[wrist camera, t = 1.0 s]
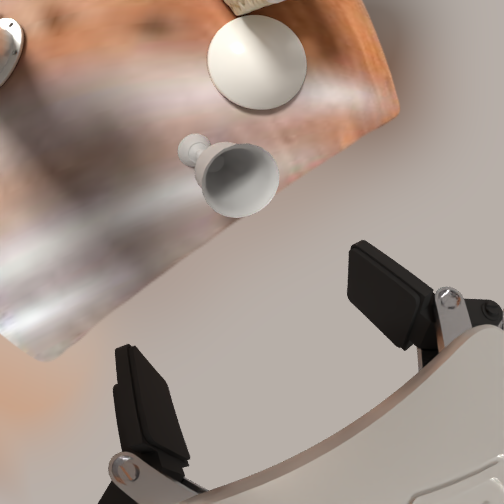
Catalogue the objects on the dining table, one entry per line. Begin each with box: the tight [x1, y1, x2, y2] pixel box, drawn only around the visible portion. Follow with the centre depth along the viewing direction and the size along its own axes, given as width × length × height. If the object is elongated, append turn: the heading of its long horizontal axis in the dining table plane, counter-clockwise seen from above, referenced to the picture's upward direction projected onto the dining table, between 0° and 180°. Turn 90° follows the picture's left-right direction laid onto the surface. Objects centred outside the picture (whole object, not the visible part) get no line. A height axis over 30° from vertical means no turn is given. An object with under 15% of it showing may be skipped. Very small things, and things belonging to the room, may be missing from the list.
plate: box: [207, 15, 307, 110], centre depth 33 cm, size 16×16×1 cm
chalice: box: [178, 134, 279, 218], centre depth 30 cm, size 7×7×18 cm
